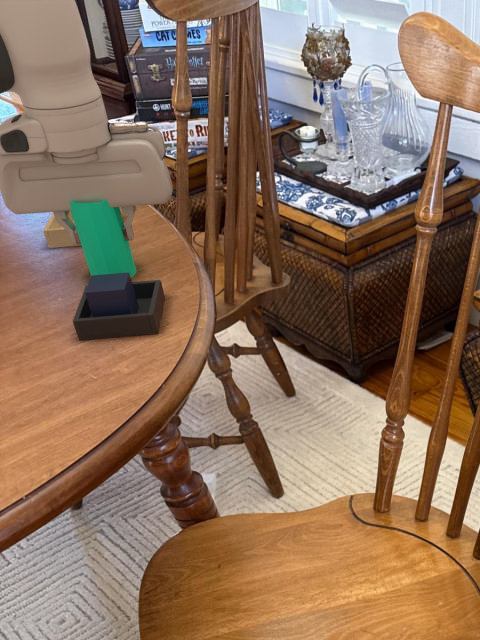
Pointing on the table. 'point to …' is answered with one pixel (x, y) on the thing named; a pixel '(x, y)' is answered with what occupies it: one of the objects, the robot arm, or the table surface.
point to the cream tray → (58, 233)
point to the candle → (102, 238)
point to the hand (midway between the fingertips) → (104, 241)
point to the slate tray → (123, 325)
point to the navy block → (111, 295)
